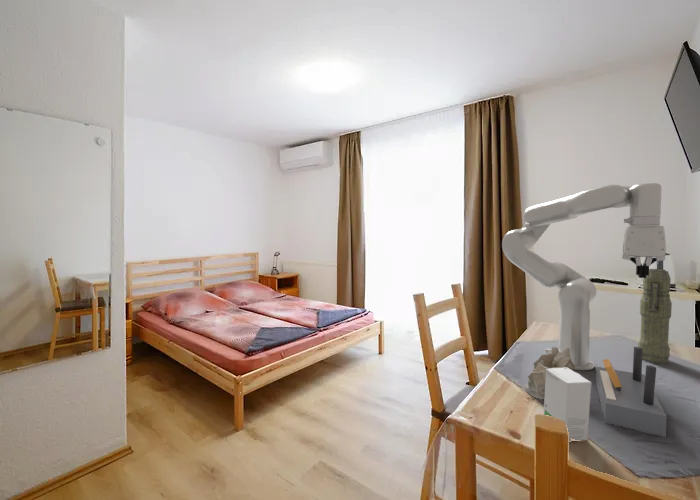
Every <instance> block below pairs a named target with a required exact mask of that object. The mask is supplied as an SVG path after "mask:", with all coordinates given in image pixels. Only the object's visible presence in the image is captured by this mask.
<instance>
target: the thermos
mask: <svg viewBox="0 0 700 500" xmlns="http://www.w3.org/2000/svg"><path fill="white" fill-rule="evenodd" d="M642 290H643V292H642V295H641V297H640V302H639V304H640V305H639V313H640V318H641V319H640V339H639V341H638V342H637V343H638V346H637V347H640V348H643V352H642V361H644V362H647V363H652V364H657V365H667V364H669V363H670V361H669V359H670V358H669V357H671V356H670V354H671V348H670V346H669V336H670V333H669V331H670V319H671V317H672V308H673V307H672V305H673V303H672V299H671V298H670V297H671V295H670V292H671V276H670V273H669V271H668V270H665V269H660V268H649V276H648V275H646V278H642Z"/></svg>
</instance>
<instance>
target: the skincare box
mask: <svg viewBox="0 0 700 500" xmlns="http://www.w3.org/2000/svg"><path fill="white" fill-rule="evenodd" d="M591 392H592V382H591V381H590V380H589V379H587V378H585V377H583V376H582V375H581V374H580V373H578V372H576V371H575V370H574V371H572V370H571V369H569V368H567V367H565V368H549V369H546V380H545V398H544V402H543V416H544V415H549V416H553V417H556V418H559V419H561V420H563V421H564V422H565V423H566V425H567V428H568V432H569V441H571V438H572V439H575V440H587V441H588V434H589V433H588V432H589V423H590V422H589V420H590V407H591V394H592V393H591Z"/></svg>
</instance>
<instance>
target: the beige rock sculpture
mask: <svg viewBox="0 0 700 500" xmlns="http://www.w3.org/2000/svg"><path fill="white" fill-rule="evenodd" d="M551 349H552V350H551V354H548V353H545V354H541V355H540V356H539V358H538V359H537V360H535V361H534V362H533V363H532V364H533V369H532V372H531V373H530V374H529V375H527V378H528V380H527V382H526V385H525V386H524V391H525V390H526V391H527V392H528V393H527V392H526V391H525V392H526V393H527V394H529V395H533V396H535V397H537V398H540V399H539V400H541V399H544V398H545V380H546V369H549V368H565V367H567V368H569V369H571V370H572V371H574V372H575V365H574V364H573V363H572V361H571V358H570V353H569V351H570V348H565V350H563V352H562V353H561V352H559V350H558V347H557V346H552V347H551ZM533 396H532V397H533ZM537 398H536V399H537Z"/></svg>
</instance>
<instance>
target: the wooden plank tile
mask: <svg viewBox="0 0 700 500" xmlns="http://www.w3.org/2000/svg"><path fill="white" fill-rule="evenodd" d="M602 363H603V365H604V368H605V369H606V371H607V373H608V375H609V377H610V379H611V380H612V382H613V384H614V386H615V388H616V387H617V388H618V390H619V391H620V390H621V387H622V386H621V383H620V380H619V378H618V376H617V374H616V372H615V370H616V369H615V368H614V366H613V365H612V362H611V360H610V359H609V358H607V359H602Z"/></svg>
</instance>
